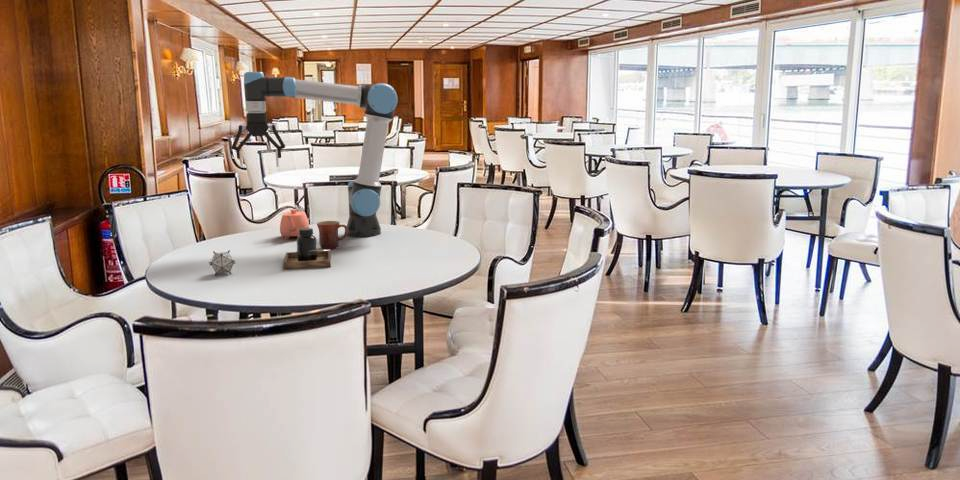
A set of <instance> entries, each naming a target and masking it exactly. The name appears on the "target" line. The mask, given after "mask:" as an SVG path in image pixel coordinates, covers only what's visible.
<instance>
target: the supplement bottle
mask: <svg viewBox="0 0 960 480" xmlns="http://www.w3.org/2000/svg"><path fill="white" fill-rule="evenodd" d="M299 235H300V236H299V237H297V238H296V252H297V256H298V261H315V260H317V250H318V249H317V238H316V237H315V235H314V229H313V228H311V227H309V228H302V229H299Z"/></svg>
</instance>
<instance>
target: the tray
mask: <svg viewBox="0 0 960 480" xmlns="http://www.w3.org/2000/svg"><path fill="white" fill-rule="evenodd" d="M331 252H332V251H331ZM331 252H330V250H329V251H317V260H315V261H298V256H297V251H291V252H288V251H287V252H285V257H284V261H283V270H301V269H302V270H304V269H317V268H319V269H320V268H322V269H323V268H331V267H332V266H331V264H332V261H331V260H332V256H331Z"/></svg>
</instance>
